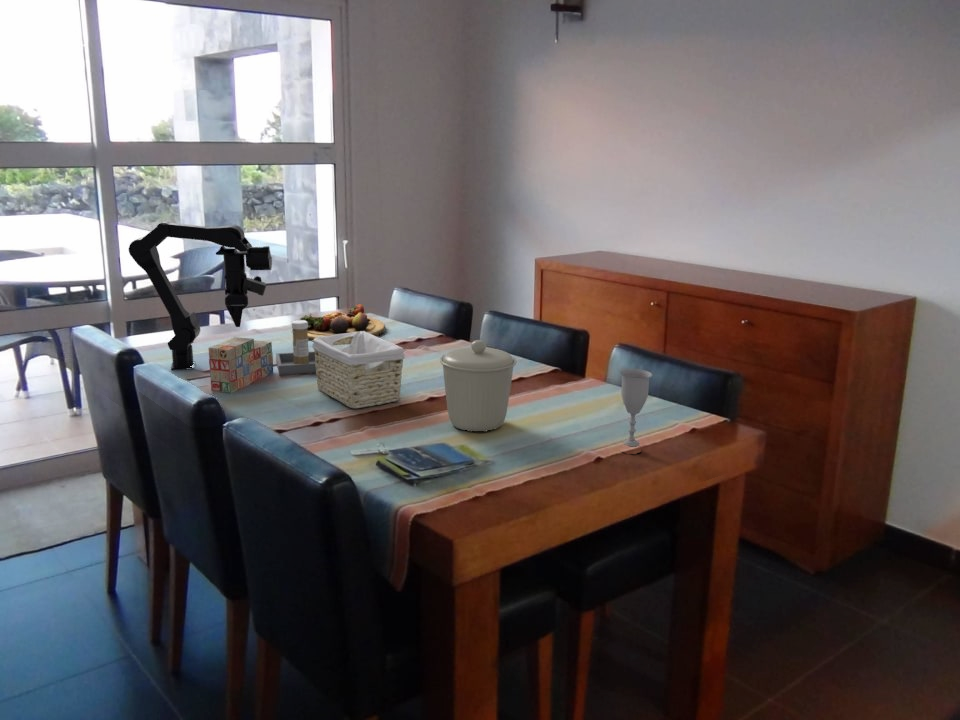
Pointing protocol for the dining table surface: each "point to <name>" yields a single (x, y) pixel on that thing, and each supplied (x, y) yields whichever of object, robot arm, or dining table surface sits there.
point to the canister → (477, 386)
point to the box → (294, 365)
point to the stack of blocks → (239, 363)
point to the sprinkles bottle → (300, 342)
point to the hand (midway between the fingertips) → (237, 323)
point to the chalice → (634, 397)
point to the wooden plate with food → (343, 323)
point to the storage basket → (359, 369)
